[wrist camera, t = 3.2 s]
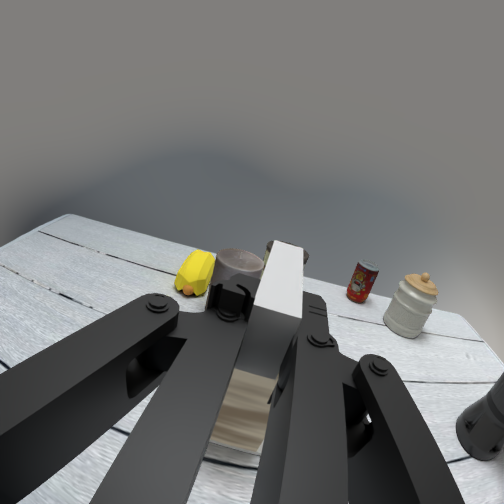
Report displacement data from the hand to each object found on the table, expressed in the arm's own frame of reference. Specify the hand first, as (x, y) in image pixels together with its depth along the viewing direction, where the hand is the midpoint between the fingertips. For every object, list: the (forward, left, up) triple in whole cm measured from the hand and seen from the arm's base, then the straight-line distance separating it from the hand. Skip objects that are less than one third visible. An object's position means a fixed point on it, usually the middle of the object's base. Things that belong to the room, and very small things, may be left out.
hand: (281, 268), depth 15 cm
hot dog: (+48, -17, -30) cm, 59 cm away
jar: (+15, -67, -30) cm, 75 cm away
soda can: (+32, -63, -30) cm, 77 cm away
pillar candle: (+33, -19, -30) cm, 49 cm away
